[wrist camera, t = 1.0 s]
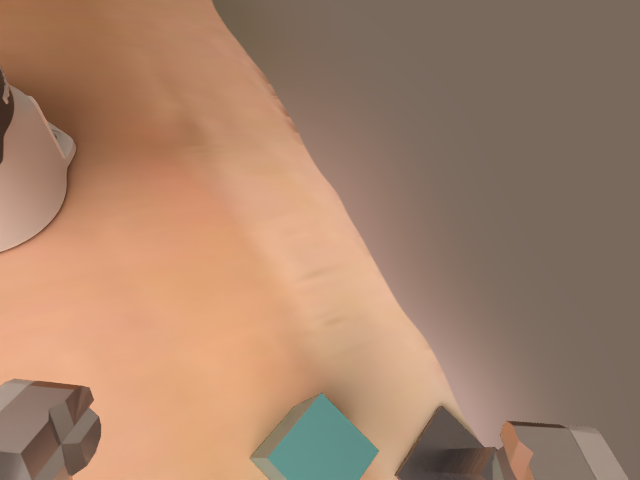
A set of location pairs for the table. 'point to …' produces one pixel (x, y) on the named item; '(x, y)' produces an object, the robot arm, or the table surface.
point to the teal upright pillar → (315, 445)
